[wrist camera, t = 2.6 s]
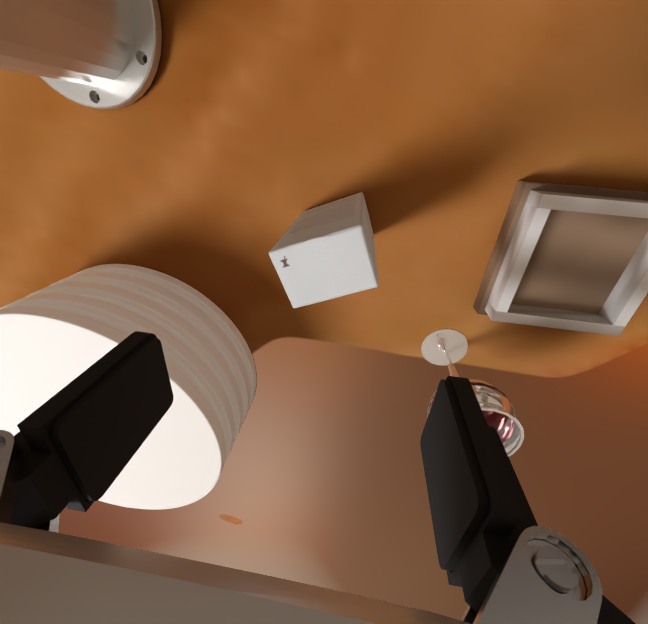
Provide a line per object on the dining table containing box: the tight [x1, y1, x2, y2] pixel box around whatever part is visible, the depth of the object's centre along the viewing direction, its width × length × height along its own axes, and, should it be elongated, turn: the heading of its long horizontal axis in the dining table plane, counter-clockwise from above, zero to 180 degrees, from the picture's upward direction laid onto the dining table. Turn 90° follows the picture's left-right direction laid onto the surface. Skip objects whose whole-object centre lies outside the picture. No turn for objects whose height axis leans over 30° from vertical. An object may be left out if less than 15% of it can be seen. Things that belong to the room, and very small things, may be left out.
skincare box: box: [269, 192, 379, 308], centre depth 24 cm, size 6×4×12 cm
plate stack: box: [0, 264, 257, 509], centre depth 36 cm, size 28×28×12 cm
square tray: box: [473, 180, 648, 336], centre depth 27 cm, size 12×12×4 cm
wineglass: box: [421, 329, 524, 457], centre depth 29 cm, size 7×7×12 cm
